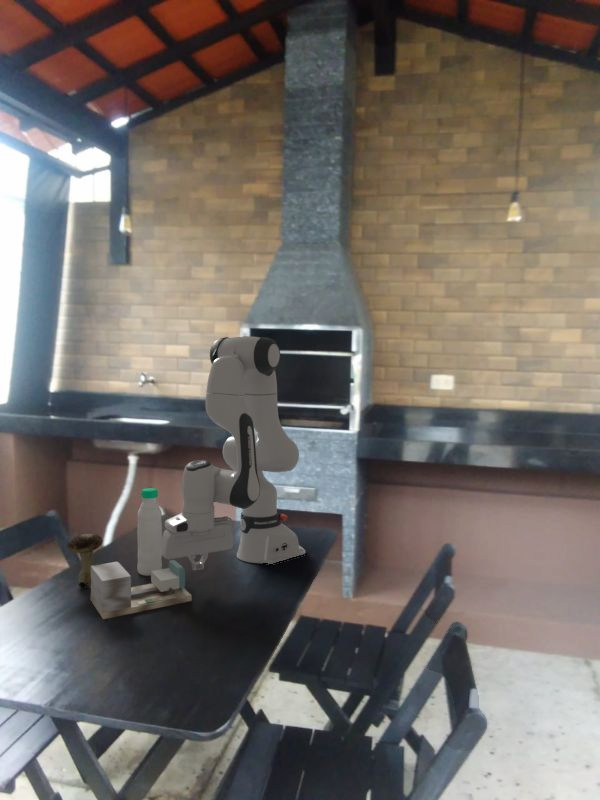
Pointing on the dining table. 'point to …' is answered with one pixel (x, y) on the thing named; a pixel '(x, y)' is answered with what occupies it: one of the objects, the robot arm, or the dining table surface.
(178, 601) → the frame
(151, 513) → the water bottle
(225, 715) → the dining table surface
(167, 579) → the block with teal panel
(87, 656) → the dining table surface
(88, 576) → the mushroom
